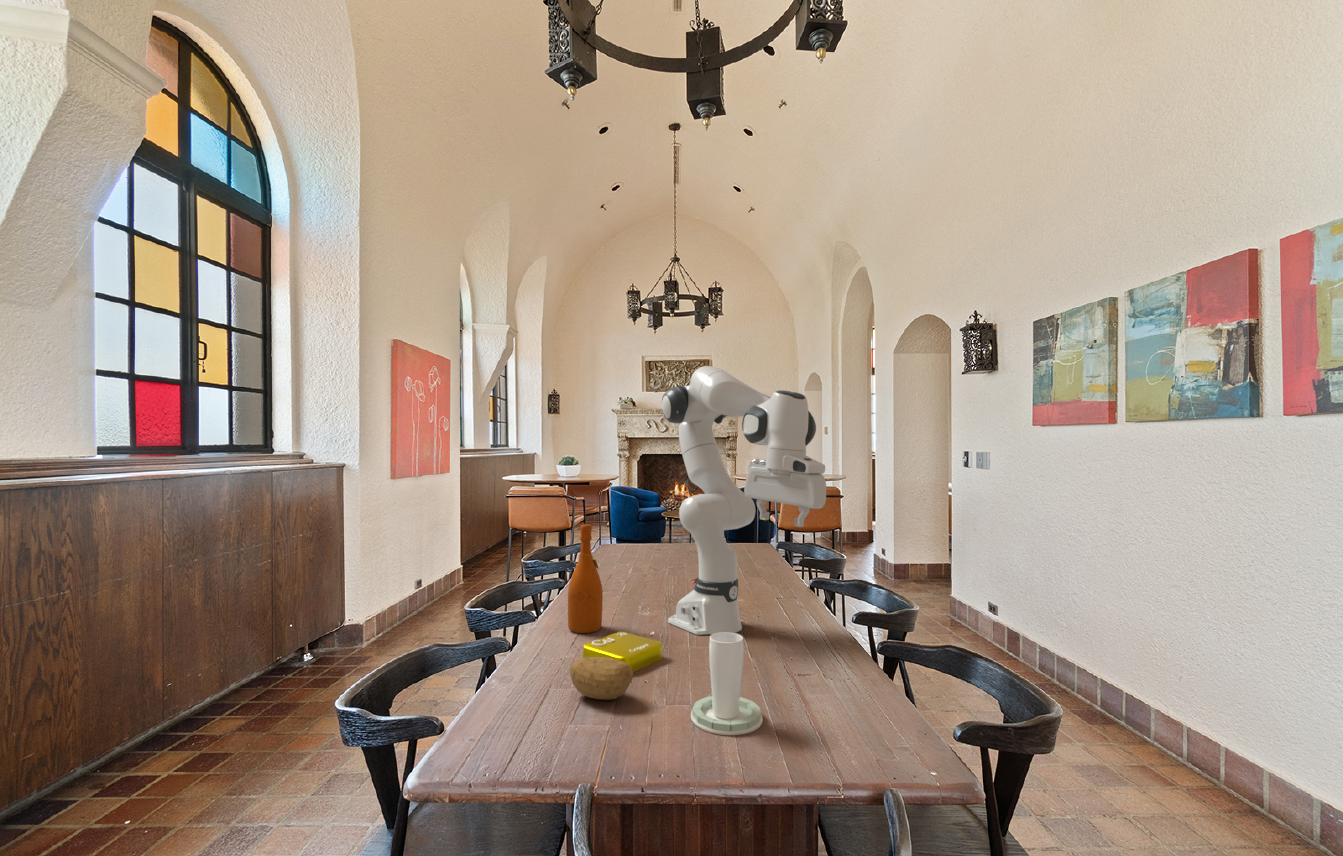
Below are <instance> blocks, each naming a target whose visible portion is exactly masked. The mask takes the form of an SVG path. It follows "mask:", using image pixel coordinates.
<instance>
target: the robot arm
mask: <svg viewBox="0 0 1343 856" xmlns="http://www.w3.org/2000/svg"><path fill="white" fill-rule="evenodd" d="M689 381H690V382H689V385H681V384H679V385H677V386H675V387H673V388H671V389H668V390H666V392H664V394H663V396H662V399H661V410H662V413H663V414H662V415H663V416H664V419H666V421H668V422H669V423H671V424H679V425H678V441H679V447H680V452H681V455H682V460H683V463H684V466H685V470H686V473H687V476H688V479H689V481H690V482H691V483H692V484H694V485H695V486H697V487H698V488H699V489H701V490H702V492H704V493H700V494H699V493H698V494H695V495H692V496H689V497H687V498H685V499H684V500H683V501H682V502H681V504H680V506H679V511H678V517H679V521H680V523H681V525H682V527H683V528H684V529H685V530H686V531H687V532H689V533H690V535H691V536H692V538H693V540H694V542H695V546H696V549H697V555H698V558H697V559H698V577H696V578H694V579H692V580H691V581H692V582H691V585H693V584H694V587H693V590H691V591H690V592H688V593H687V594H686V595H685V596H683V597H682V598H680V599H679V601H678V602H677V604H676V608H675V614H673V615H671V616H670V617H668V618H667V619H668V620H667V623H668V624H671V625H673V626H676V627H678V628H680V629H682V630H685V631H687V632H690V633H692V634H694V635H697V636H698V635H701V636H703V635H712V634H714V633H719V632H730V633H736V634H737V633H738V632H741V631H742V630H743V626H742V623H741V618H740V617H741V616H740V612H739V603H738V595H739V578H738V576H737V574H738V573H737V572H738V570H737V569H738V555H737V551H736V550H735V548H733V547H732V546H731V545H730V544H728V542H727V541H726V538H725V531H729V530H731V531H732V530H738V529H741V528H744V527H746V526H748V525H750V524H751V523H752V522H753V521H754V519H755V516H756V506H757V508H758V511H759V520H763V521H768V520H769V519H770V513H771V512H769V511H767V508H766V505H767V504H768V502H773V503H779V504H783V505H784V504H785V505H789V506H790V505H791V506H795V507H798V511H799V512H800V513H799V514H798V516H797V517H795V518H794V519H793V526H794V527H797V528H804V524H805V519H806V517H807V516H808V514H809V513H810V509H815V510H818V509H822V508H823V507H824V506H825V505H826V501H827V482H826V479H825V476H824V475H823V474H825V473H826V465H825V464H824V463H823V462H820V461H818V460H816V459H814V458H812V457H810V456H808V455H807V446H808V445H809V444H810V443H811V442H812V441H813V439H814V438H815V436H816V431H817V424H816V421H815V419H814V416H813V415H812V413H811V412H810V410H809V405H808V400H807V396H805V395H804V394H803V393H799V392H796V391H790V390H780V389H779V390H776V391H774V392H773V393H772V395H771V396H768V395H766V394H764V393H763V392H760V391H758V390H757V389H756V388H753V387H752V386H749V385H748V384H746V383H744V382H743V381H741V380H740V379H738V378H736V377H735V376H733V375H731V374H730V373H728V372H727V371H726V370H723V369H720V368H718V367H715V366H711V365H704V366H701V367H698V368H696V370H695V371H694V372H693V373H692V375H691V377H690V380H689ZM728 416H730V417H743V418H742V423H741V430H742V433H743V436H744V437H745V439H746V440H747V441H748V442H749V443H750V444H754V445H758V446H766V453H765V456H766V457H765V459H759V458H754V459H752V461H750V462H749V463H748V466H747V475H746V477H745V484H744V488H743V489H744V491H742V490H741V489H740V488H739V486H737V484H736V483H735V482H734V481H733V479H732V478H731V476H730V475H729V473H728V471H727V469H726V467H725V464H724V462H723V459H722V456H721V453H720V450H719V447H718V444H717V441H716V438H715V435H714V432H713V424H714V423H716V424H717V425H719V424H722V422H723V420H724V419H725V418H727V417H728ZM754 499H756V505H755V502H754Z"/></svg>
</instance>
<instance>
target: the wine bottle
mask: <svg viewBox="0 0 1343 856" xmlns="http://www.w3.org/2000/svg"><path fill="white" fill-rule="evenodd" d="M579 529H580V530H579V531H580V537H579V540H580V541H581V543H580V551H579V555H578V561H577V563H576V565H575V569H574V570H573V572H572V575H571V578H570V580H569V583H568V590H567V591H568V592H567V626H568V629H569V631H571V632H572V633H577V634H590V633H594V632H597V631H599V630H600V629H601V628H602V623H603V595H604V594H603V585H602V579H601V578H600V574H599V572H598V569H599V566H598V562H597V559H595V558H594V557H593V553H592V547H591V541H592V529H593V527H592V525H591V524H588V523H584V524H581V525H580V527H579Z"/></svg>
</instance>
